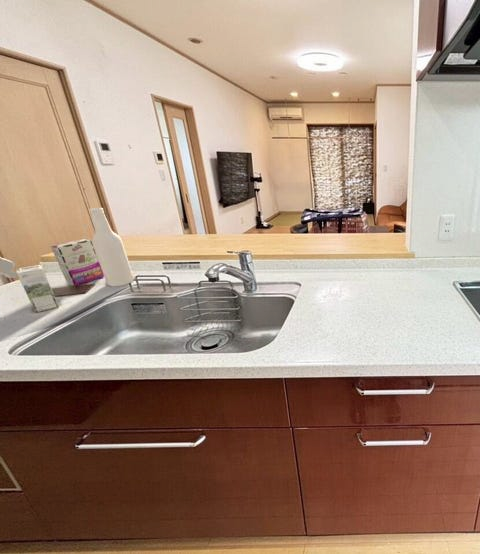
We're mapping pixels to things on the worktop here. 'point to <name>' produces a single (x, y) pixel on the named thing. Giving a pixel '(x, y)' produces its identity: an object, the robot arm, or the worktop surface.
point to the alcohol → (110, 251)
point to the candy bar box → (78, 261)
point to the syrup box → (37, 288)
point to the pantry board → (72, 290)
